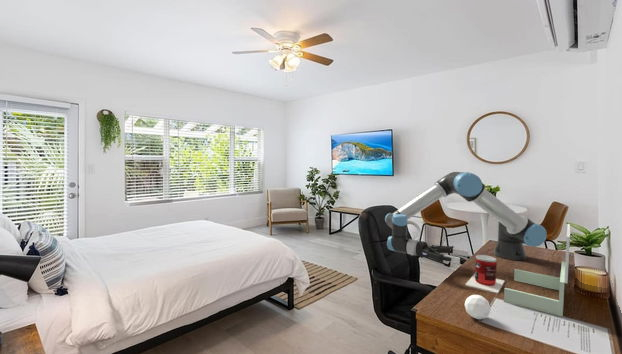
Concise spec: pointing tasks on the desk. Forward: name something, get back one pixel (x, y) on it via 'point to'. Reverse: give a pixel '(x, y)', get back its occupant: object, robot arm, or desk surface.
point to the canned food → (485, 270)
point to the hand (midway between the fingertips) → (463, 257)
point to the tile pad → (477, 285)
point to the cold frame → (543, 281)
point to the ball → (477, 306)
